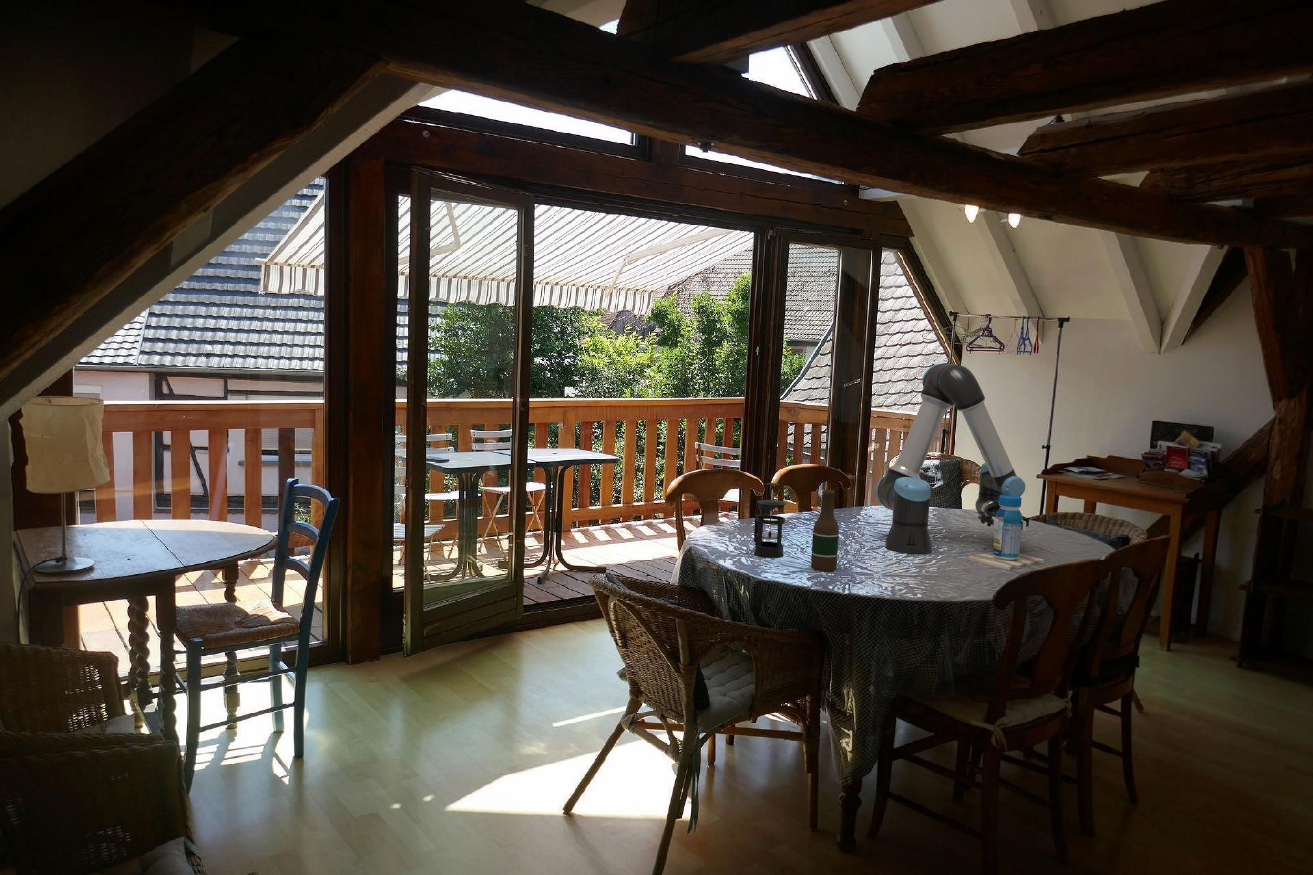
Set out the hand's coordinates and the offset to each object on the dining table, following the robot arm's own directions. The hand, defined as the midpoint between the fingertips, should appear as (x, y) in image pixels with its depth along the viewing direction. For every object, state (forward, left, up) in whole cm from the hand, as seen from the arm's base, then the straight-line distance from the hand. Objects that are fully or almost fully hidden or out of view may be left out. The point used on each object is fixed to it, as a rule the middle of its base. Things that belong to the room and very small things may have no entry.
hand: (1010, 525), depth 305 cm
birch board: (+2, +2, -12) cm, 13 cm away
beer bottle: (-60, +24, -12) cm, 66 cm away
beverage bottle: (+2, +2, -11) cm, 12 cm away
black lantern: (-62, +46, -12) cm, 78 cm away
